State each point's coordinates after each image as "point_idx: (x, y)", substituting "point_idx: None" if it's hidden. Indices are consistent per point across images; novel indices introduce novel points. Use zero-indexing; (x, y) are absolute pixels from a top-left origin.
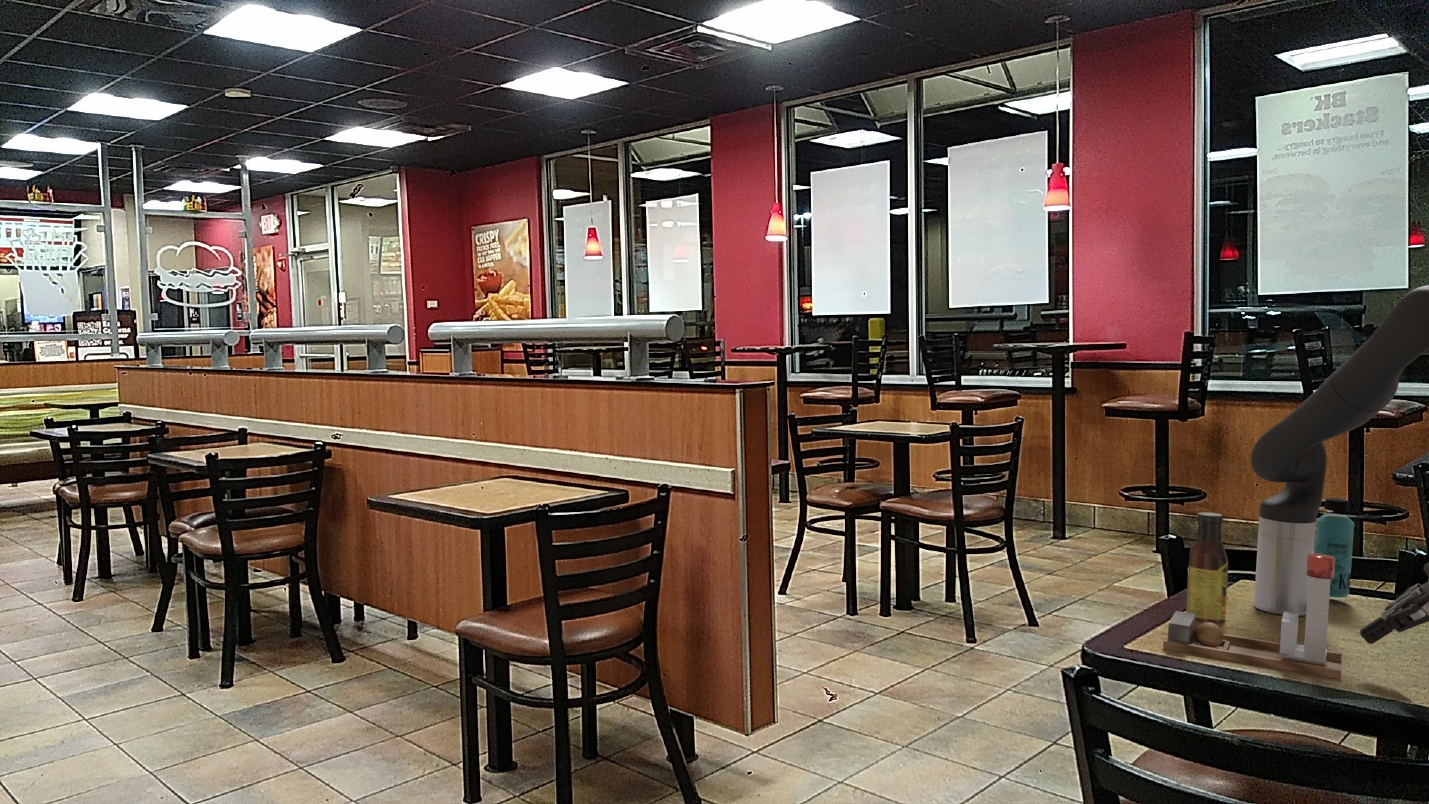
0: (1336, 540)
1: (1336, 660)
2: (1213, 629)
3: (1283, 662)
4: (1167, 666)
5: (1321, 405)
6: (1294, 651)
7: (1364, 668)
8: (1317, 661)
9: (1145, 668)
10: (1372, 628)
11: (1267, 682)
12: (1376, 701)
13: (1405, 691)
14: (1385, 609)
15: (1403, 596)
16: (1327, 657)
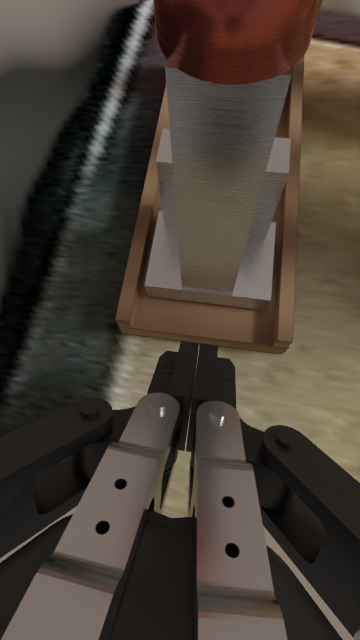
0: None
1: (274, 335)
2: None
3: (139, 211)
4: (131, 75)
5: None
6: (164, 218)
7: (332, 413)
8: (147, 270)
9: (104, 51)
10: (163, 370)
11: (110, 209)
12: (68, 398)
13: (177, 484)
14: (279, 430)
15: (214, 528)
16: (276, 314)
